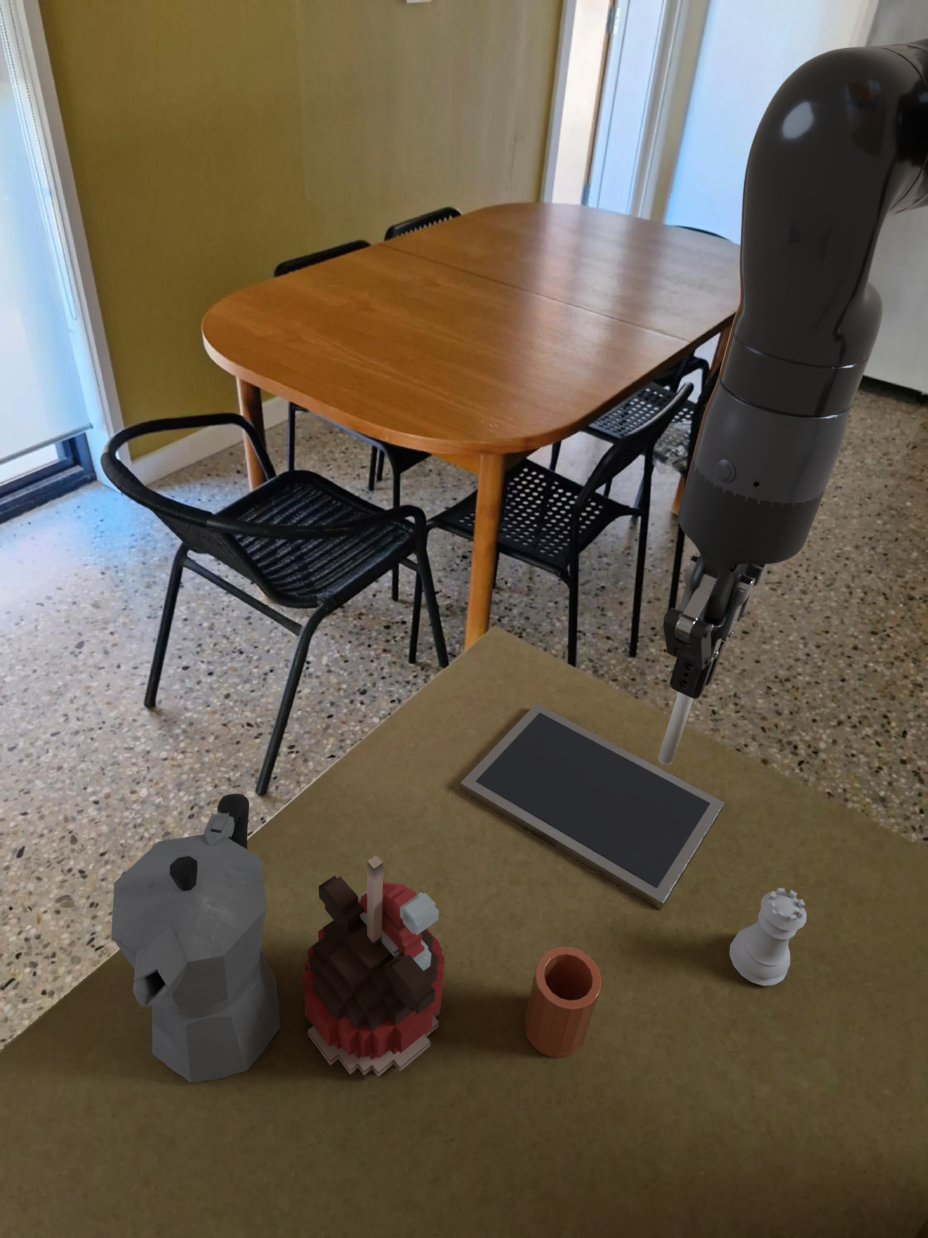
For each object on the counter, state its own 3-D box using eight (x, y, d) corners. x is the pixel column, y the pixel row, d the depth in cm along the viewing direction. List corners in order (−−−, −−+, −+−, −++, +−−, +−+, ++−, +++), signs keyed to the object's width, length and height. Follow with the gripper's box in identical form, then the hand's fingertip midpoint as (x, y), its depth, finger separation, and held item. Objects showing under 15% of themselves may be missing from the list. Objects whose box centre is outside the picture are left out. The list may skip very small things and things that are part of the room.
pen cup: (596, 1021, 64) (612, 971, 60) (565, 1071, 61) (580, 1022, 57) (544, 986, 66) (556, 934, 62) (512, 1033, 63) (523, 982, 59)
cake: (277, 997, 64) (257, 844, 53) (380, 923, 69) (382, 769, 58) (366, 1118, 58) (365, 975, 47) (471, 1027, 63) (494, 879, 52)
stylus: (674, 761, 66) (718, 628, 58) (668, 770, 66) (711, 636, 57) (660, 755, 67) (702, 621, 59) (654, 763, 66) (696, 629, 58)
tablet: (722, 809, 80) (725, 801, 80) (660, 910, 72) (663, 902, 71) (535, 710, 89) (536, 702, 88) (459, 789, 80) (460, 781, 79)
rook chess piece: (716, 957, 69) (743, 898, 64) (750, 925, 71) (779, 866, 66) (764, 1001, 66) (796, 943, 61) (797, 966, 69) (831, 908, 64)
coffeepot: (250, 1130, 57) (221, 986, 46) (110, 1103, 58) (47, 956, 46) (316, 919, 69) (305, 764, 58) (199, 899, 70) (166, 742, 58)
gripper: (785, 538, 44) (702, 769, 55) (860, 440, 53) (775, 656, 64) (649, 486, 47) (595, 715, 58) (741, 402, 56) (679, 614, 67)
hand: (690, 683), depth 61 cm, fingers closed on stylus, 1 cm apart
